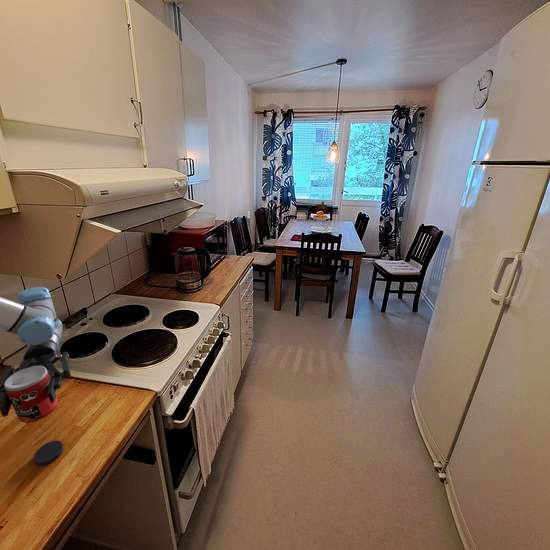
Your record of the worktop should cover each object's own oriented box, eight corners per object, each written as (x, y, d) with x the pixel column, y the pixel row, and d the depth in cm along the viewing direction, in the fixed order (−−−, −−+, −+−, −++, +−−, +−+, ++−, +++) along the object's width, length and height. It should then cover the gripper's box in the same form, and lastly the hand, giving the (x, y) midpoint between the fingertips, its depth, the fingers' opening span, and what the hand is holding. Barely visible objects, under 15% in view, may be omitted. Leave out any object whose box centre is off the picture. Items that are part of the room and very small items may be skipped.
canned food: (10, 420, 69) (-6, 385, 65) (42, 396, 77) (29, 363, 72) (35, 427, 68) (21, 391, 64) (65, 401, 75) (54, 368, 71)
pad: (28, 465, 70) (26, 462, 70) (46, 443, 76) (45, 440, 76) (52, 466, 70) (51, 463, 70) (69, 443, 76) (67, 440, 76)
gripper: (86, 350, 90) (84, 399, 72) (0, 372, 80) (-28, 435, 62) (81, 330, 87) (77, 376, 69) (-9, 350, 78) (-41, 410, 60)
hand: (27, 404), depth 66 cm, fingers closed on canned food, 8 cm apart
